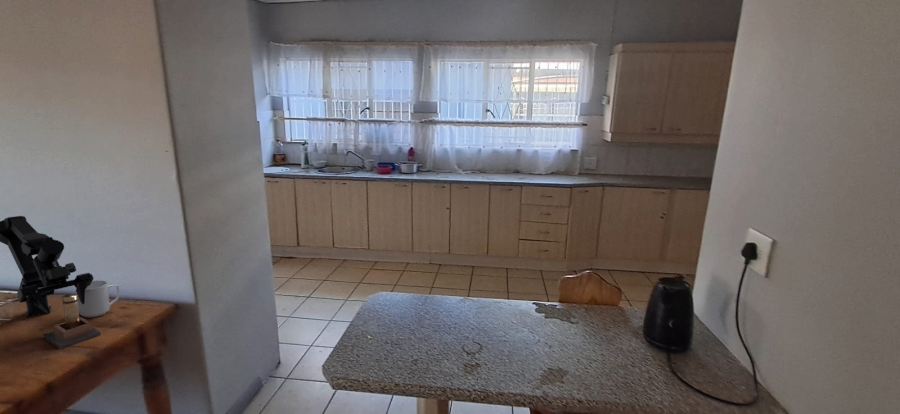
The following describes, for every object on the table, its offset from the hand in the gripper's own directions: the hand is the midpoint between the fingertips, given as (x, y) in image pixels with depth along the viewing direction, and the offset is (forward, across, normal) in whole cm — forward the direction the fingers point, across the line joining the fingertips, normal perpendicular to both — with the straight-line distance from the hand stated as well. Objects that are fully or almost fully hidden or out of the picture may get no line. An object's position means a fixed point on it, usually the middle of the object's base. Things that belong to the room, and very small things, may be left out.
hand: (66, 308), depth 144 cm
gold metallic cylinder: (+8, 0, +3) cm, 9 cm away
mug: (0, +12, +13) cm, 18 cm away
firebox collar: (+9, 0, +4) cm, 9 cm away
